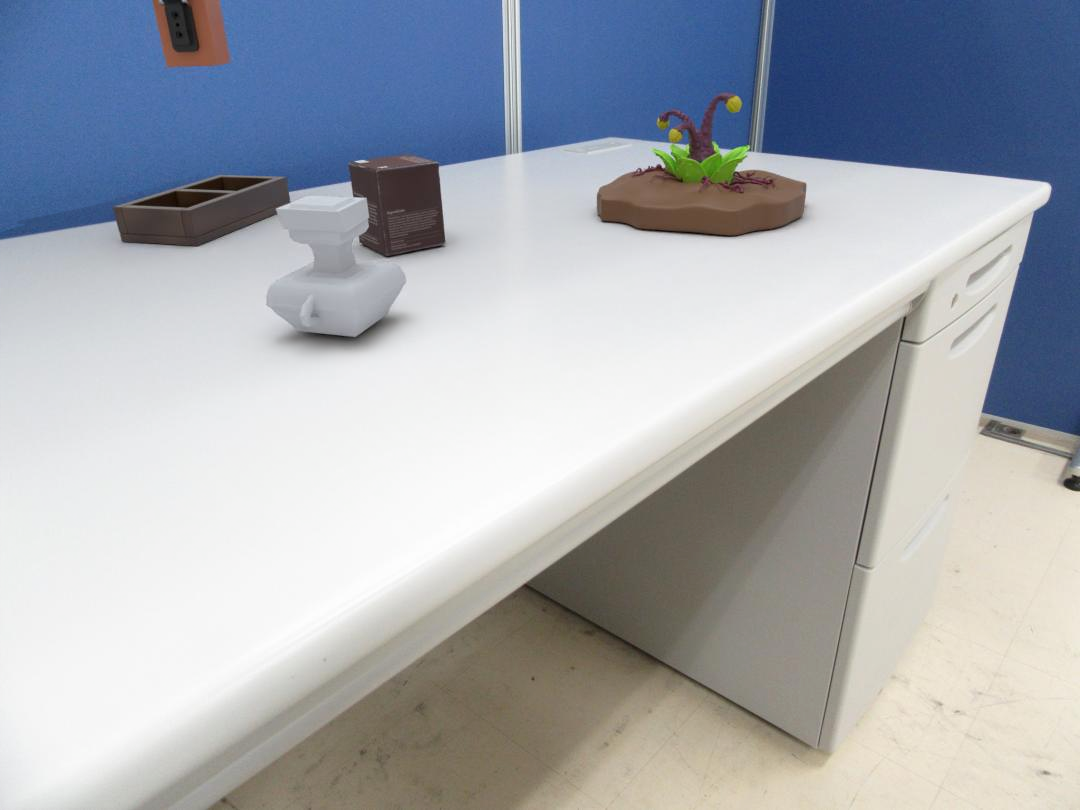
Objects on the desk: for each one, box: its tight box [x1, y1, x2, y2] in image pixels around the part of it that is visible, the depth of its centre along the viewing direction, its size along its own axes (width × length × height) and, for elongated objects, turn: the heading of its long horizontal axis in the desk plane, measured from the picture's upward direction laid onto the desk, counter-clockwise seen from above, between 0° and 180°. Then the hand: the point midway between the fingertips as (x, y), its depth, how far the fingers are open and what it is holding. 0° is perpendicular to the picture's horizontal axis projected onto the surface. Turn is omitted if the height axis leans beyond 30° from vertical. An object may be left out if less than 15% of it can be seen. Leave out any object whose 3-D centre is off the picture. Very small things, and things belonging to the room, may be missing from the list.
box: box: [347, 153, 446, 257], centre depth 70 cm, size 6×6×7 cm
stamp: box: [265, 195, 407, 338], centre depth 51 cm, size 9×7×8 cm
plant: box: [596, 92, 808, 237], centre depth 78 cm, size 20×20×11 cm
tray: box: [112, 174, 291, 247], centre depth 80 cm, size 8×16×3 cm, turn 164°
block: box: [151, 0, 232, 68], centre depth 74 cm, size 5×5×6 cm
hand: (196, 49), depth 75 cm, fingers closed on block, 4 cm apart
